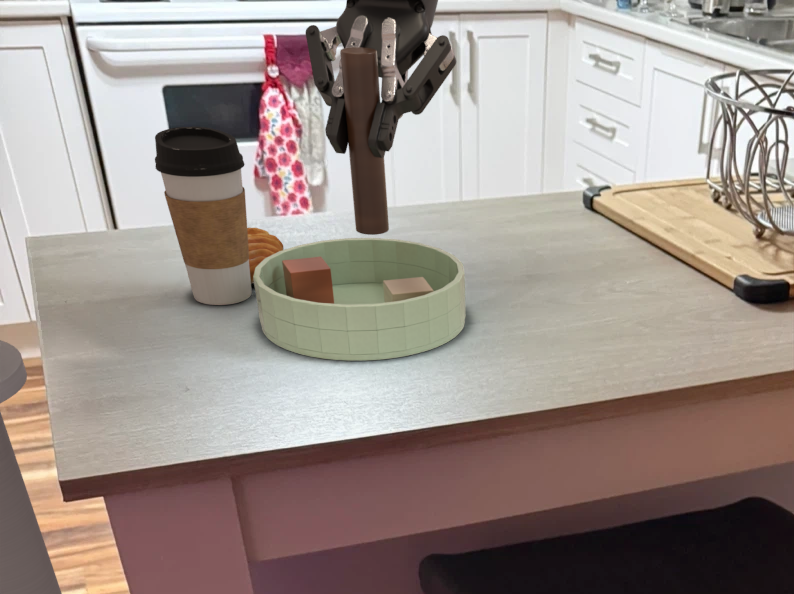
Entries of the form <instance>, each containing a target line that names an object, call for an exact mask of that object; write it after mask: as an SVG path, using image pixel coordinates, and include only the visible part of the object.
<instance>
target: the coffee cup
mask: <svg viewBox="0 0 794 594" xmlns="http://www.w3.org/2000/svg"><path fill="white" fill-rule="evenodd" d="M154 141H155V150H156V151H155V154H156V156H155V158H154V164H155V169H156V171H157V172H159V173H160V174H161V178H162V182H163V186H164V189H165V190H164V192H163V193H164V194H163V195H164V197H165V200H166V204H167V208H168V211H169V214H170V218H171V222H172V225H173V228H174V231H175V235H176V239H177V242H178V243H177V244H178V247H179V249H180V253H181V257H182V260H183V263H184V265H185V269H186V274H187V276H188V277H187V278H188V280H189V284H190V287H191V292H192V296H193V299H194V300H195V301H197V302H198V303H201V304H204V305H211V306H226V305H233V304H238V303H241V302H244V301H246V300H248V299H250V297H251V296H252V294H253V293H252V284H251V279H250V268H249V249H248V232H247V228H248V219H247V202H246V201H247V200H246V189H245V187H244V186H243V178H242V177H243V175H242V168H244V167H245V165H246V163H245V161H244V156H243V154H242V153H241V152H240V149H239V146H238V143H237V139H236V138H235V137H234V136H233V135H231V134H230V133H227V132H225V131H222V130H220V129H216V128H213V127H212V128H211V127H206V126H177V127H171V128H167V129H164V130H160V131H159V132H157V134H155V136H154Z"/></svg>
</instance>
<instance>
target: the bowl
mask: <svg viewBox="0 0 794 594" xmlns="http://www.w3.org/2000/svg"><path fill="white" fill-rule="evenodd" d="M312 257H322V258H323V260H324V261H325V262H326V264H327V265H328V266H329V267H330V269H331V277H332V286H333V296H334V304H330V303H317V302H312V301H306V300H300V299H295V298H292V297H289V296H287V294H286V287H285V279H284V272H283V265H282V261H283V260H292V259H302V258H312ZM465 274H466V273H465V268H464V265H463V262H462V261H460V260H459V258H458V257H456V256H455V255H454V254H452V253H450V252H448V251H446V250H444V249H442V248H439V247H436V246H432V245H430V244H425V243H422V242H416V241H411V240H403V239H396V238H381V237H348V238H336V239H327V240H326V239H325V240H319V241H313V242H309V243H303V244H298V245H296V246H292V247H289V248H285V249H283V250H282V251H279V252H277V253H275V254H273V255H271V256H269V257H267V258H265V259H264V260H263V261H262V262H261V263H260V264H259V265H258V266H256V268H255V271H254V276H253V279H254V283H253V285H254V286H253V287H254V292H255V297H256V305H257V308H258V309H257V310H258V311H257V312H258V317H259V322H260V323H259V324H260V326H261V330H262V333H263V334H264V336H265V337H266V338H267V339H268V340H269V341H270V342H271V343H272V344H274V345H276V346H278V347H280V348H282V349H284V350H287V351H289V352H292V353H295V354H297V355H298V354H299V355H303V356H306V357H311V358H317V359H325V360H332V361H333V360H334V361H353V362H354V361H356V362H357V361H358V362H359V361H379V360H388V359H389V360H390V359H396V358H403V357H408V356H412V355H416V354H422V353H424V352H427V351H431V350H433V349H436V348H439V347H440V346H443V345H445V344H447V343H449V342H450V341H452V340H453V339H454V338H456V337H457V336H458V335H459V334H460V333H462V330H463V329H464V327H465V324H466V317H467V316H466V314H467V313H466V284H465V283H466V279H465ZM416 277H423V278H424V279H425V280H426V281H427V283H428V284H429V285H430V287H431V288H432V289H433V290H434V292H431V293H429V294H426V295H423V296H419V297H415V298H410V299H406V300H402V301H394V302H386V303H385V301H384V288H383V281H384V280H395V279H406V278H416Z"/></svg>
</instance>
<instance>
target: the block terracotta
mask: <svg viewBox="0 0 794 594" xmlns="http://www.w3.org/2000/svg"><path fill="white" fill-rule="evenodd" d="M282 265H283V272H284V279H285V287H286V294H287V296H289V297H292V298H295V299H300V300H306V301H312V302H317V303H330V304H334V296H333V286H332V277H331V269H330V267H329V266H328V265H327V264H326V262H325V261H324V260H323V258H322V257H312V258H302V259H292V260H283V261H282Z"/></svg>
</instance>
